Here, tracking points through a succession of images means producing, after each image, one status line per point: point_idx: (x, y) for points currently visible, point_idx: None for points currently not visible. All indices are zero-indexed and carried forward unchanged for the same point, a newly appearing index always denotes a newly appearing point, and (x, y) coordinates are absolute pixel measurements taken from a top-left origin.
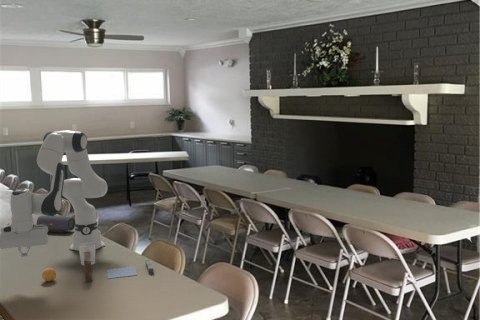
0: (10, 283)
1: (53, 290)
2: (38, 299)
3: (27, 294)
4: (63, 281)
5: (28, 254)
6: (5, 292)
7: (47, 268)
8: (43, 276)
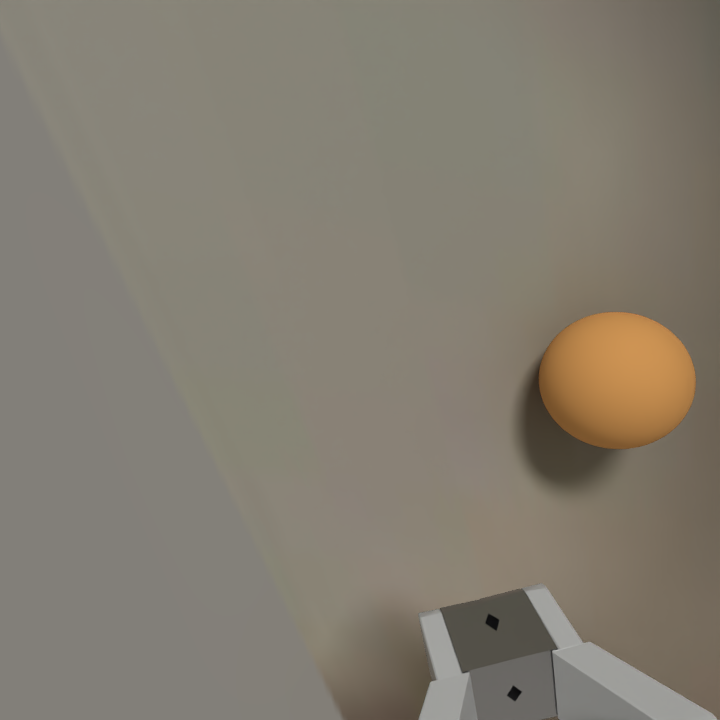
0: (228, 373)
1: (620, 557)
2: None
3: None
4: None
5: (546, 588)
6: (275, 568)
7: (645, 407)
8: (564, 429)
